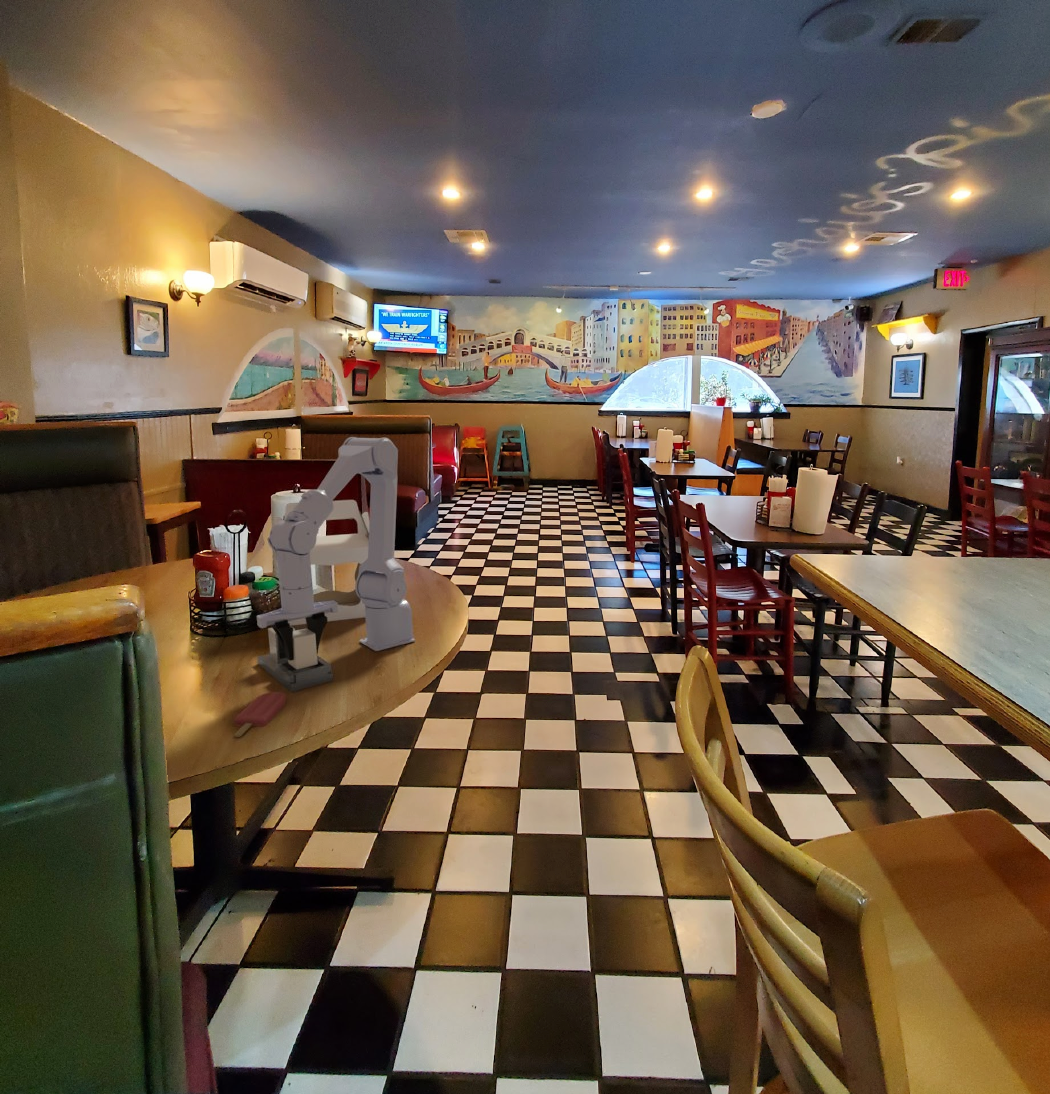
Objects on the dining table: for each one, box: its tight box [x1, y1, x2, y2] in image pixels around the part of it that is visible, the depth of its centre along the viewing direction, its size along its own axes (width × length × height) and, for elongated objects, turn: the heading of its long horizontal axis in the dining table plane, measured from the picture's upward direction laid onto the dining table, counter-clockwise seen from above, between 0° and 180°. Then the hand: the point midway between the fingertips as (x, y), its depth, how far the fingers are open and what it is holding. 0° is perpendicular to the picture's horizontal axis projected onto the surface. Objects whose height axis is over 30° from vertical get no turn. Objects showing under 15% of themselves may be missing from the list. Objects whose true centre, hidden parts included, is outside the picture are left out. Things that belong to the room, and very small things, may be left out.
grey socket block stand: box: [256, 626, 334, 693], centre depth 132 cm, size 8×18×8 cm, turn 39°
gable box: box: [274, 499, 370, 627], centre depth 167 cm, size 22×13×28 cm, turn 109°
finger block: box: [288, 628, 318, 669], centre depth 128 cm, size 4×4×6 cm
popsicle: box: [233, 691, 287, 738], centre depth 114 cm, size 5×2×15 cm
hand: (302, 655), depth 128 cm, fingers closed on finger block, 4 cm apart
